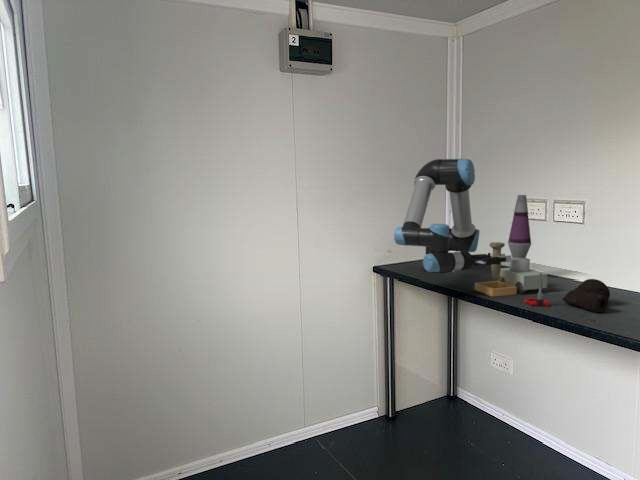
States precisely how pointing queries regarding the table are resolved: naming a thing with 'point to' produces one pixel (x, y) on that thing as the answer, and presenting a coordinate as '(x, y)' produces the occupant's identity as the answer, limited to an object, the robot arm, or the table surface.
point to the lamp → (520, 229)
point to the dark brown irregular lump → (589, 296)
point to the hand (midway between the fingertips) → (507, 257)
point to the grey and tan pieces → (514, 279)
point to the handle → (496, 252)
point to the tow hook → (538, 301)
